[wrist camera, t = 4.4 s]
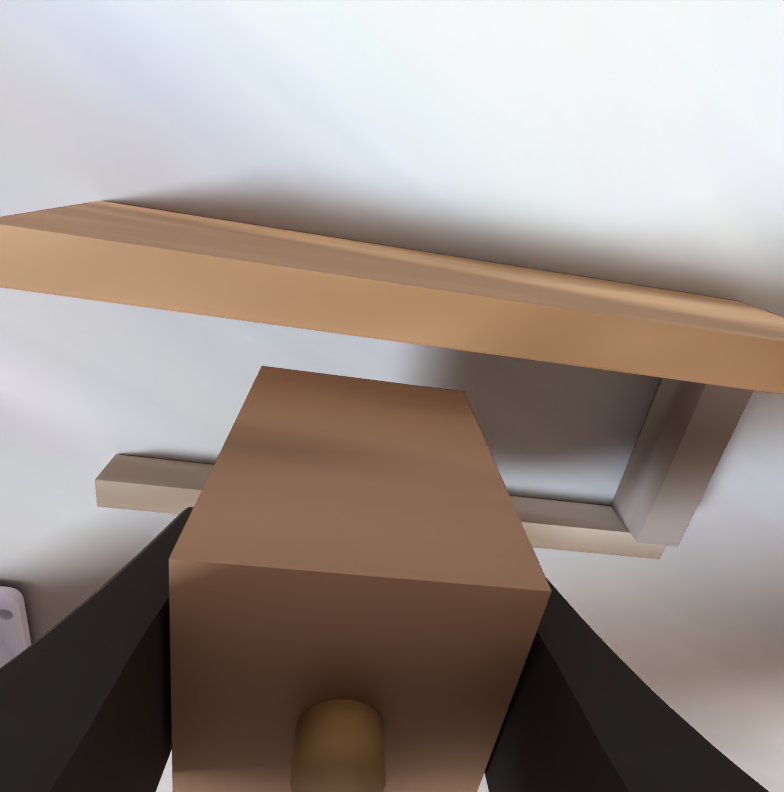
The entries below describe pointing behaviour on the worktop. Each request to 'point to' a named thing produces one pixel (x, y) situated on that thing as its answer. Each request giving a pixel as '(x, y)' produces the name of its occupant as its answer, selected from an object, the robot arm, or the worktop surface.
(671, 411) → the board
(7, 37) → the worktop surface
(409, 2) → the worktop surface
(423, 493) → the cabinet block
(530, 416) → the worktop surface
